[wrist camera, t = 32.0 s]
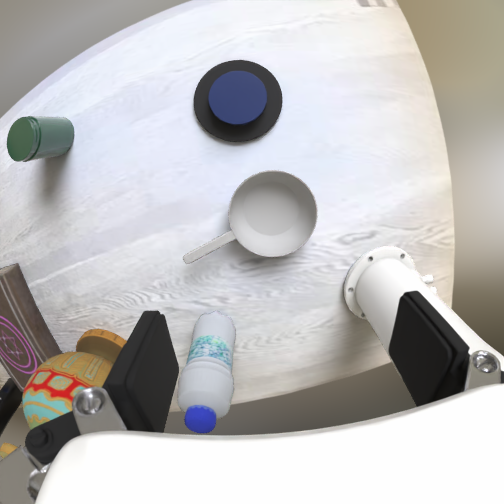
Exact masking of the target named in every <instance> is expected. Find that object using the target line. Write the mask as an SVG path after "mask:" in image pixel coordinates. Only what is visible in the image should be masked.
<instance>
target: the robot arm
mask: <svg viewBox="0 0 504 504" xmlns="http://www.w3.org/2000/svg"><path fill="white" fill-rule="evenodd" d="M430 283H433V276H432V275H425V276H421V275H420V274H419V273H418V272H417V271H416V267H415V264H414V261H413V260H412V258H411V257H410V256H409V255H408V254H407V253H406V252H404V251H403V250H402V249H400V248H397V247H393V246H381V247H378V248H374V249H372V250H370V251H368V252H367V253H365V254H364V255H362V256H361V257H360V258H359V259H358V260H357V261H356V262H355V263H354V265H353V266H352V267H351V269H350V271H349V272H348V274H347V277H346V280H345V284H344V298H345V301H346V304H347V305H348V307H349V309H350V310H351V312H352V313H353V314H355V315H356V316H357V317H359V318H361V319H365V320H368V321H369V323H370V324H371V326H372V328H373V329H374V331H375V333H376V335H377V336H378V338H379V340H380V342H381V343H382V345H383V347H384V349H385V350H386V352H387V354H388V356H389V357H390V359H391V361H392V363H393V365H394V367H395V368H396V370H397V372H398V374H399V375H400V377H401V378H402V379H403V381H404V383H405V384H406V386H407V388H408V390H409V392H410V394H411V396H412V398H413V400H414V402H415V404H416V406H417V407H416V408H412V409H409V410H406V411H402V412H398V413H395V414H391V415H387V416H383V417H379V418H374V419H370V420H365V421H361V422H356V423H351V424H345V425H340V426H334V427H327V428H321V429H314V430H306V431H298V432H287V433H275V434H261V435H186V434H185V435H184V434H169V433H163V432H164V428H165V424H166V420H167V416H168V412H169V408H170V404H171V400H172V396H173V393H174V389H175V385H176V381H177V378H178V374H179V366H178V362H177V359H176V355H175V352H174V348H173V345H172V341H171V338H170V334H169V330H168V327H167V323H166V319H165V316H164V315H163V314H160V312H159V311H144V312H143V314H142V315H141V317H140V319H139V321H138V323H137V324H136V326H135V328H134V330H133V332H132V333H131V335H130V337H129V339H128V341H127V343H125V344H124V346H123V348H122V349H121V351H120V353H119V355H118V357H117V359H116V361H115V363H114V364H113V366H112V368H111V370H110V372H109V374H108V376H107V378H106V380H105V382H104V384H103V386H102V388H100V387H88V388H85V389H83V390H81V391H79V392H78V393H77V394H76V395H75V397H74V398H73V401H72V411H70V412H68V413H66V414H63V415H61V416H59V417H57V418H54V419H52V420H50V421H48V422H45V423H43V424H41V425H38V426H36V427H34V428H33V429H32V430H31V431H30V432H29V433H28V435H27V437H26V441H25V445H26V446H25V447H22V446H19V447H18V448H16V449H15V450H14V451H12V452H11V453H10V454H9V455H7V456H6V457H5V458H3V459H2V460H1V461H0V504H504V357H503V356H502V355H501V354H500V353H498V352H497V351H496V350H494V349H493V348H492V347H491V346H489V345H488V344H487V343H486V342H484V341H483V340H482V339H481V338H480V337H479V336H478V335H477V334H475V332H474V331H473V330H472V329H471V328H470V327H468V325H466V324H465V323H464V322H463V321H462V320H461V318H460V317H459V316H458V315H457V314H456V313H455V312H454V311H453V310H452V309H451V308H450V307H449V306H448V305H447V304H446V303H445V302H444V301H443V300H442V299H441V298H440V297H439V296H438V295H437V290H436V288H435V287H434V286H432V287H428V286H427V285H426V284H430Z"/></svg>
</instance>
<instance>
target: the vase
mask: <svg viewBox="0 0 504 504" xmlns="http://www.w3.org/2000/svg"><path fill="white" fill-rule="evenodd" d="M125 343H127V341H126V340H124V339H123V338H121V337H120V336H118V335H116V334H114V333H112V332H109V331H107V330H101V329H92V330H89V331H87V332H85V333H84V334H83V335H82V337H81V338H80V339H79V341H78V342H77V346H76V352H66V353H63V354H60V355H57V356H54V357H52V358H50V359H48V360H47V361H45V362H44V363H43V364H41V365H40V366H39V367H38V368H37V370H36V371H35V372H34V373H33V375H32V376H31V377H30V379H29V380H28V382H27V384H26V386H25V388H24V392H23V396H22V400H23V411H24V414H25V418H26V420H27V422H28V425H29V427H30V429H31V430H32V429H33V428H34V427H36V426H38V425H41V424H43V423H45V422H48V421H50V420H52V419H54V418H57V417H59V416H61V415H63V414H66V413H68V412H70V411H72V401H73V398H74V397H75V395H76V394H77V393H78V392H79V391H81V390H83V389H85V388H88V387H100V388H102V386H103V384H104V382H105V380H106V378H107V376H108V374H109V372H110V370H111V368H112V366H113V364H114V363H115V361H116V359H117V357H118V355H119V353H120V351H121V349H122V348H123V346H124V344H125ZM16 448H18V447H17V446H15V445H12V444H8V443H3V445H2V446H1V448H0V455H1V456H2V458H5V457H6V456H7V455H9V454H10V453H11V452H12V451H14V450H15V449H16Z"/></svg>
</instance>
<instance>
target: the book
mask: <svg viewBox="0 0 504 504" xmlns="http://www.w3.org/2000/svg"><path fill="white" fill-rule="evenodd" d="M60 354H62V352H61V350H60V349H59V347H58V345H57V343H56V342H55V340H54V338H53V336H52V335H51V333H50V331H49V329H48V327H47V325H46V324H45V322H44V320H43V318H42V316H41V314H40V312H39V310H38V308H37V306H36V304H35V302H34V299H33V297H32V295H31V293H30V291H29V289H28V286H27V284H26V282H25V279H24V277H23V274H22V272H21V269H20V267H19V264H18V263H16V264H13V265H10V266H7V267H4V268H1V269H0V362H1V363H2V365H3V366H4V368H5V369H6V371H7V372H8V374H9V375H10V377H11V378H12V380H13V381H14V382H15V384H16V385H17V386H18V388H19V389H20V390H21V391H23V392H24V388H25V386H26V384H27V382H28V380H29V379H30V377H31V376H32V375H33V373H34V372H35V371H36V370H37V368H38V367H39V366H40V365H41V364H43V363H44V362H45V361H47V360H48V359H50V358H52V357H54V356H57V355H60Z"/></svg>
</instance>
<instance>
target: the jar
mask: <svg viewBox="0 0 504 504" xmlns="http://www.w3.org/2000/svg"><path fill="white" fill-rule="evenodd" d="M73 139H74V128H73V125H72V123H71V122H70V120H68V119H67V118H64V117H41V116H28V117H22V118H20V119H18V120H16V121H15V122H14V123H13V125H12V126H11V128H10V130H9V133H8V137H7V149H8V153H9V155H10V157H11V158H12V159H13V160H14V161H18V162H19V161H23V162H27V161H32V160H38V159H43V158H49V157H55V156H61V155H63V154H65V153H66V152H67V151H68V150H69V149H70V147H71V145H72V143H73Z"/></svg>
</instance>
